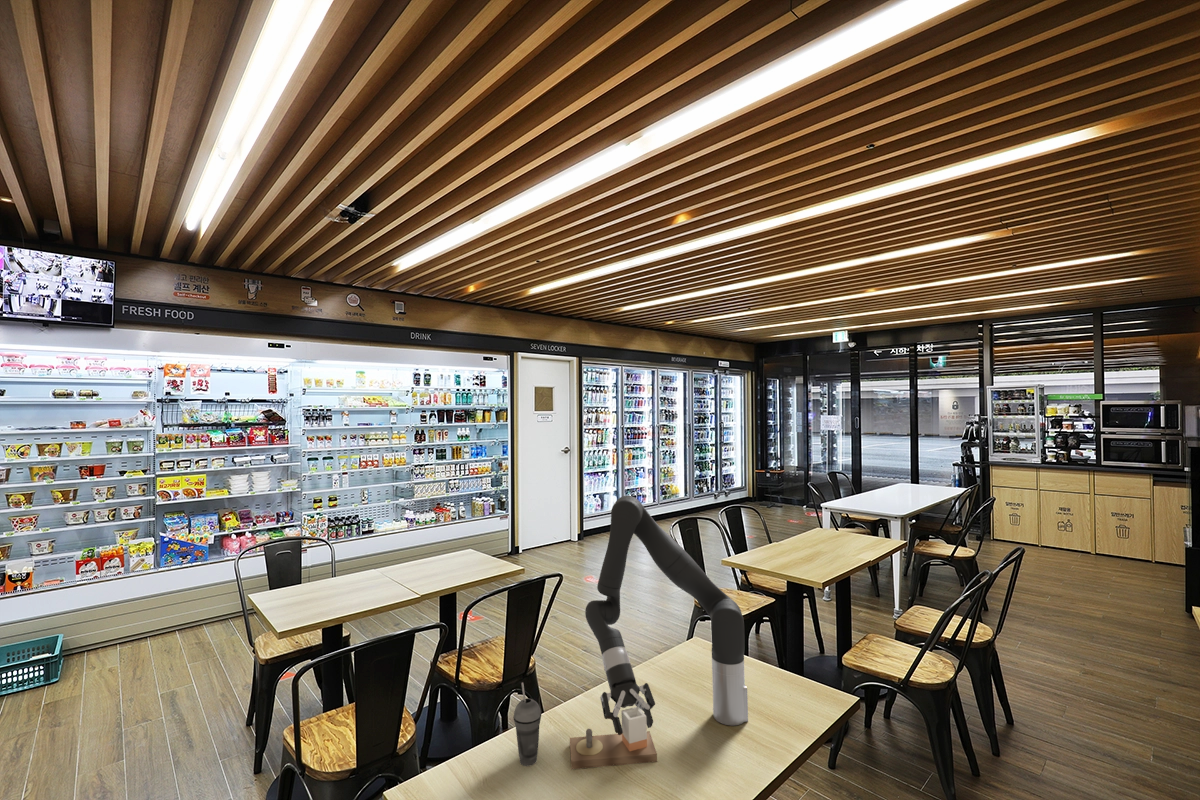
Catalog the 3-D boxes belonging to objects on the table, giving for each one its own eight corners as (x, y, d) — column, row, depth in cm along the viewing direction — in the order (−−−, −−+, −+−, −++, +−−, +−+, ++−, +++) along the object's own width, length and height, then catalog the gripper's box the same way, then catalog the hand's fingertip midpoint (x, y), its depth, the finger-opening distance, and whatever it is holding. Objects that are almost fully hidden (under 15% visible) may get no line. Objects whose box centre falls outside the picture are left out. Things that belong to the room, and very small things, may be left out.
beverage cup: (537, 771, 138) (535, 691, 139) (510, 768, 140) (508, 689, 140) (545, 753, 145) (544, 677, 146) (519, 750, 147) (518, 675, 147)
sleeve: (622, 740, 147) (621, 710, 147) (639, 736, 149) (638, 706, 149) (629, 751, 142) (628, 720, 142) (647, 746, 144) (646, 716, 144)
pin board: (649, 738, 151) (649, 713, 151) (657, 761, 141) (656, 734, 141) (569, 745, 149) (569, 719, 149) (571, 769, 139) (570, 742, 139)
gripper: (597, 667, 150) (614, 732, 139) (644, 657, 155) (664, 719, 144) (591, 677, 155) (607, 741, 144) (637, 668, 160) (655, 729, 149)
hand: (635, 730), depth 144 cm, fingers open, 8 cm apart
